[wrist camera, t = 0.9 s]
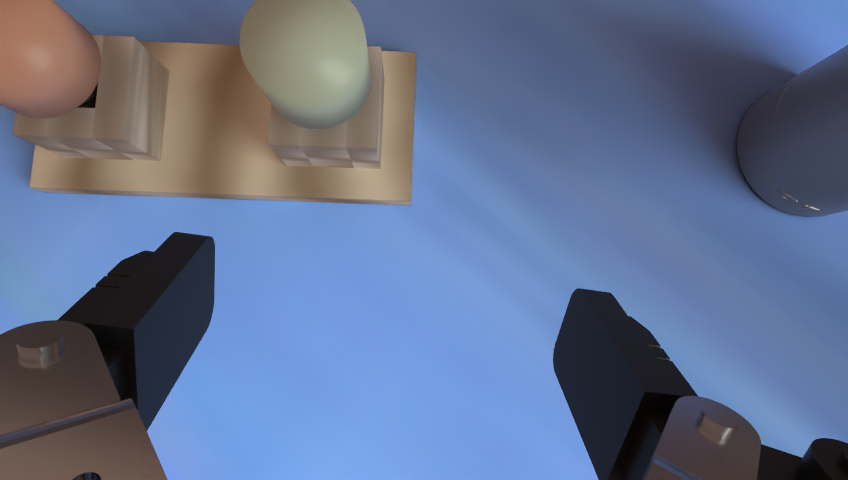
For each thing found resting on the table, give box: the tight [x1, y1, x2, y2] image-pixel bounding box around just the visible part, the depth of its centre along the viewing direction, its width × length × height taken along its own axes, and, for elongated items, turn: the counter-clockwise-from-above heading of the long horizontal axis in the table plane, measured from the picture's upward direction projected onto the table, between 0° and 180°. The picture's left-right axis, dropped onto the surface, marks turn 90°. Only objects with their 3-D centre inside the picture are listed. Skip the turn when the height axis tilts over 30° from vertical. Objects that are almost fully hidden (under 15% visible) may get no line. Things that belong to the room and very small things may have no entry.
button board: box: [13, 35, 416, 205], centre depth 33 cm, size 24×10×6 cm, turn 88°
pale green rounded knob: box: [239, 0, 372, 129], centre depth 27 cm, size 6×6×7 cm
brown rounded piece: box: [0, 0, 101, 119], centre depth 27 cm, size 6×6×7 cm
